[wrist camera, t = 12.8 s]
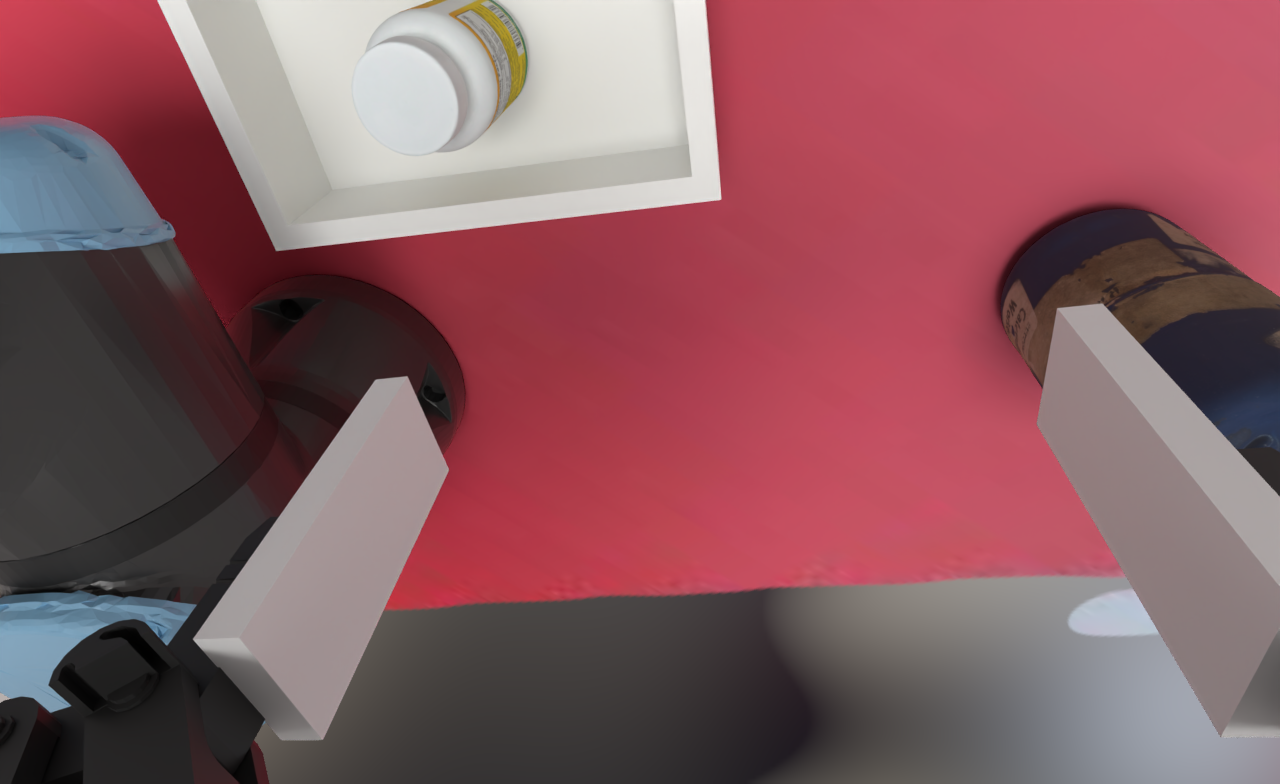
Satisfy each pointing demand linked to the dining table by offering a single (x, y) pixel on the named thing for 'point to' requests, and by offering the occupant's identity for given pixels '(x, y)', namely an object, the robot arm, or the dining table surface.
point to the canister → (1158, 312)
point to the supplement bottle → (439, 75)
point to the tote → (489, 167)
